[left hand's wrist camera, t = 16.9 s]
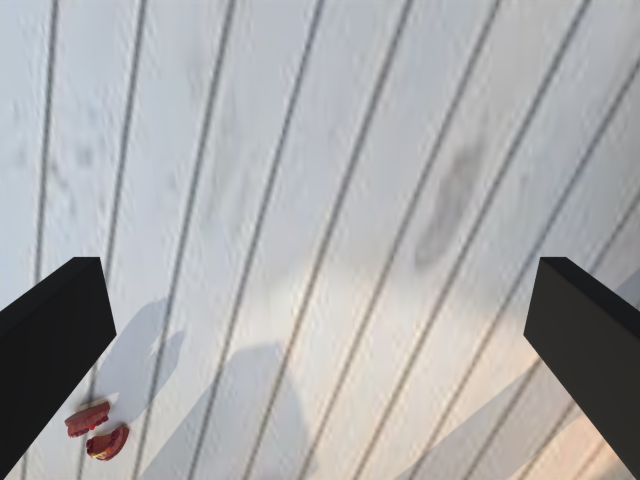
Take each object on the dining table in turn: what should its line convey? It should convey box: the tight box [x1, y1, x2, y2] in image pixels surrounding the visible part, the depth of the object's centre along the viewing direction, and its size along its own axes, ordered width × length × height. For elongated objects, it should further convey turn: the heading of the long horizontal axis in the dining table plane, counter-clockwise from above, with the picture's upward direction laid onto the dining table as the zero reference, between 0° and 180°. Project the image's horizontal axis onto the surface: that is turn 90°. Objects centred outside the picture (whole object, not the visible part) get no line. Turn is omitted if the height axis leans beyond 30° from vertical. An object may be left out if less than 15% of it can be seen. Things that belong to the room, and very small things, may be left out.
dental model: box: [65, 402, 129, 461], centre depth 56 cm, size 6×4×8 cm
